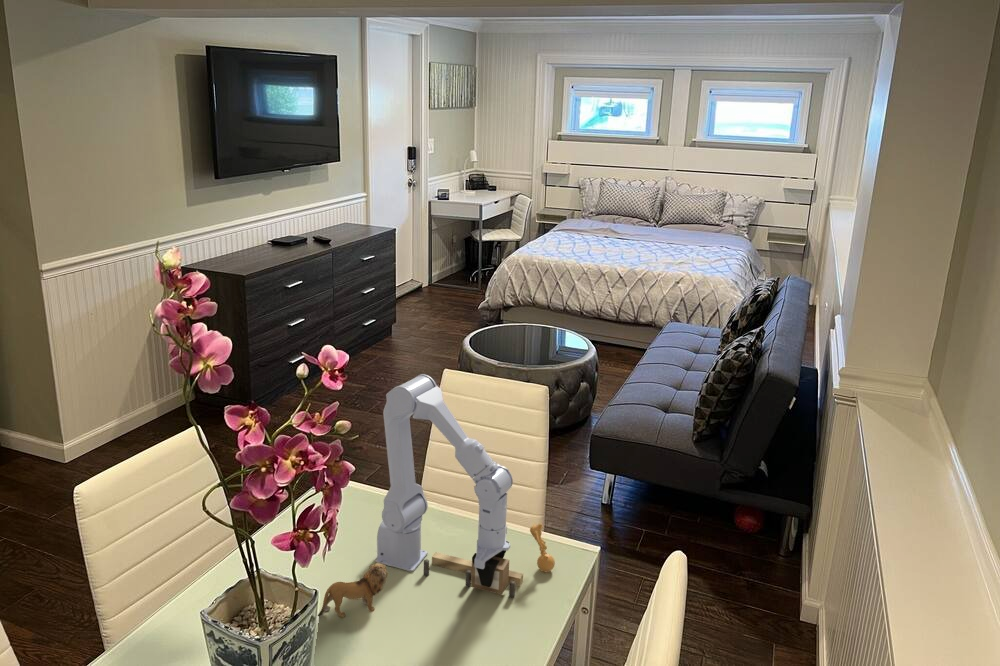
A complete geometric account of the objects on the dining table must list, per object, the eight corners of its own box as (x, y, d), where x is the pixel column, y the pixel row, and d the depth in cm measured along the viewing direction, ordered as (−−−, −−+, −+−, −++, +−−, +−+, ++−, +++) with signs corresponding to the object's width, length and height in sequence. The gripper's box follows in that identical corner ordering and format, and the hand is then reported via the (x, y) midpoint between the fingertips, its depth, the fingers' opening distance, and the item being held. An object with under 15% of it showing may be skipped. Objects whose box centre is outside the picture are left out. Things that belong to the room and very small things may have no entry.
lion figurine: (382, 592, 166) (382, 555, 163) (391, 606, 162) (391, 569, 159) (314, 611, 159) (312, 573, 157) (321, 627, 155) (320, 588, 152)
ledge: (422, 575, 172) (422, 561, 171) (435, 559, 178) (435, 546, 177) (513, 598, 166) (514, 584, 164) (523, 581, 171) (523, 567, 170)
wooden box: (471, 586, 166) (471, 562, 165) (477, 576, 170) (478, 552, 168) (501, 594, 164) (503, 570, 162) (508, 584, 168) (509, 559, 166)
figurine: (557, 581, 172) (560, 533, 168) (530, 582, 171) (533, 534, 168) (550, 559, 180) (554, 513, 176) (525, 560, 179) (527, 514, 176)
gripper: (498, 545, 155) (495, 603, 159) (521, 510, 168) (518, 565, 172) (465, 537, 157) (463, 595, 161) (490, 504, 170) (488, 557, 174)
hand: (490, 579), depth 167 cm, fingers closed on wooden box, 4 cm apart
